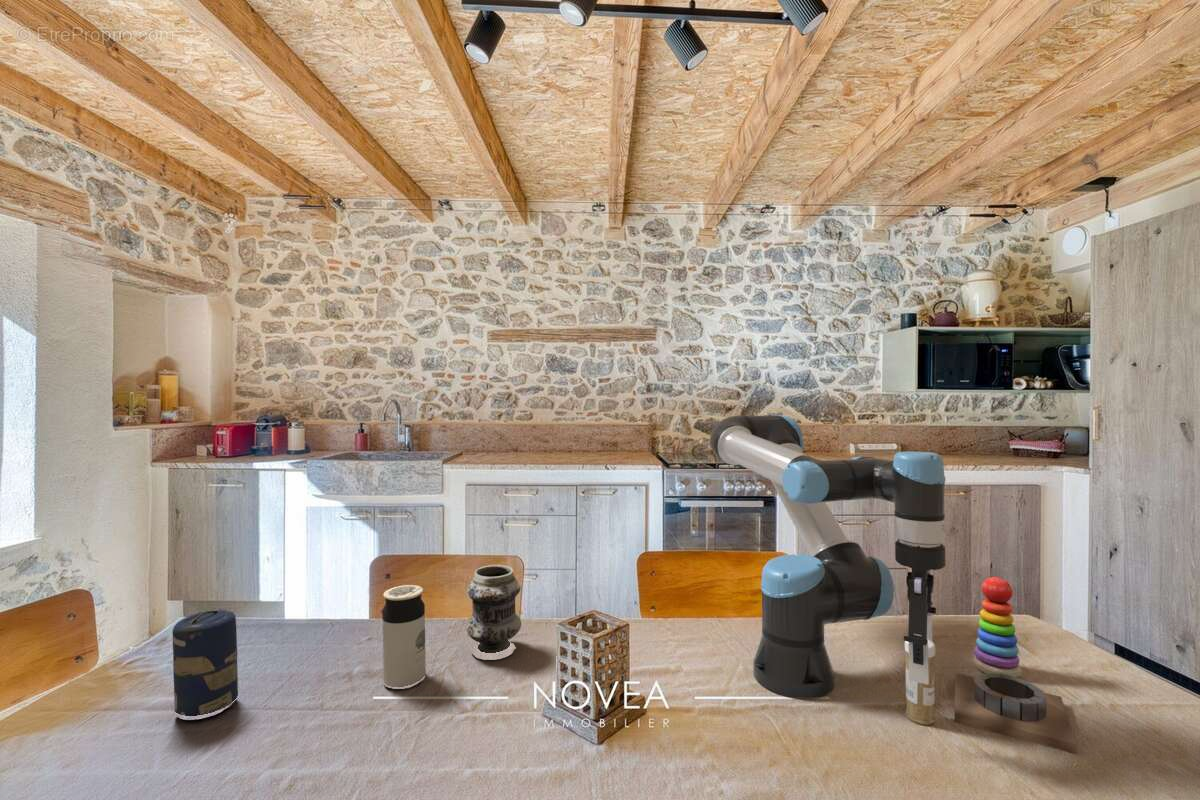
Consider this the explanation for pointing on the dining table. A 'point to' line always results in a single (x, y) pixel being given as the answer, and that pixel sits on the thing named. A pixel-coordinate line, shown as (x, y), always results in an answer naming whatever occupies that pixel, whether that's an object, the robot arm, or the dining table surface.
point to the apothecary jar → (493, 608)
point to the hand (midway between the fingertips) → (921, 664)
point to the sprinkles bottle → (921, 691)
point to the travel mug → (403, 636)
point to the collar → (1020, 708)
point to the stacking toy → (997, 631)
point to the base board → (1043, 732)
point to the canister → (205, 662)
